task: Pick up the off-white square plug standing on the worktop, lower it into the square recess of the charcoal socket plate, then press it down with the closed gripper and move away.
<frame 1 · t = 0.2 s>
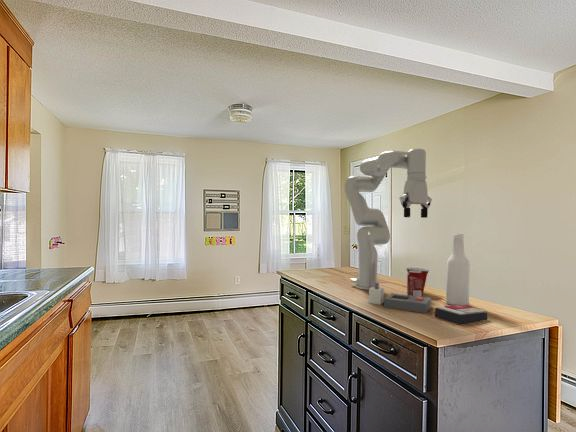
hand: (415, 217, 155), 37 cm above the countertop, tool pointing down, fingers open, 9 cm apart
button control panel: (460, 319, 131), on the countertop
plug: (376, 302, 153), on the countertop
plastic cup: (417, 292, 175), on the countertop
soda can: (414, 297, 165), on the countertop
socket plate: (407, 306, 147), on the countertop
alcohol: (457, 304, 153), on the countertop
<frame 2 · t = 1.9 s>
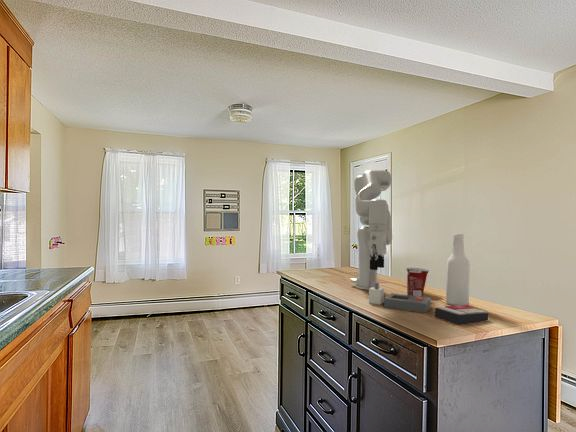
hand: (377, 268, 153), 15 cm above the countertop, tool pointing down, fingers open, 9 cm apart
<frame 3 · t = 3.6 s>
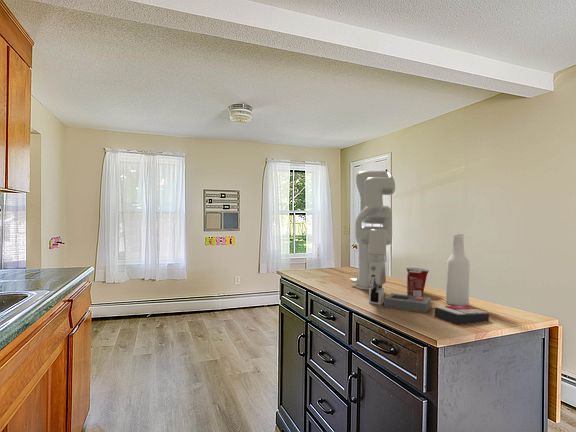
hand: (376, 299, 153), 1 cm above the countertop, tool pointing down, fingers closed on plug, 5 cm apart
plug: (376, 302, 153), on the countertop, touching gripper
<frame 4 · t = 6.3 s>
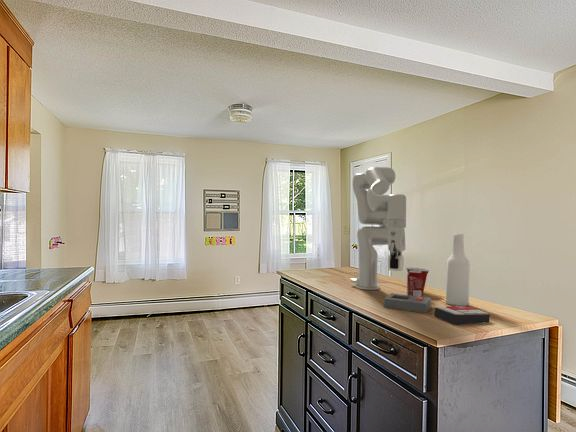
hand: (395, 267, 149), 16 cm above the countertop, tool pointing down, fingers closed on plug, 4 cm apart
plug: (395, 269, 149), point 15 cm above the countertop, touching gripper
when the fingers open (5 cm above the countertop, at t = 8.9 s): plug drops 3 cm, resting on socket plate.
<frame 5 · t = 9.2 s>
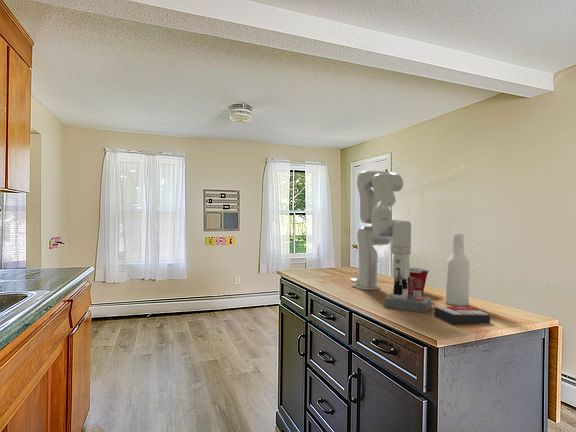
hand: (400, 292, 148), 5 cm above the countertop, tool pointing down, fingers open, 8 cm apart
plug: (400, 304, 148), point 1 cm above the countertop, touching socket plate
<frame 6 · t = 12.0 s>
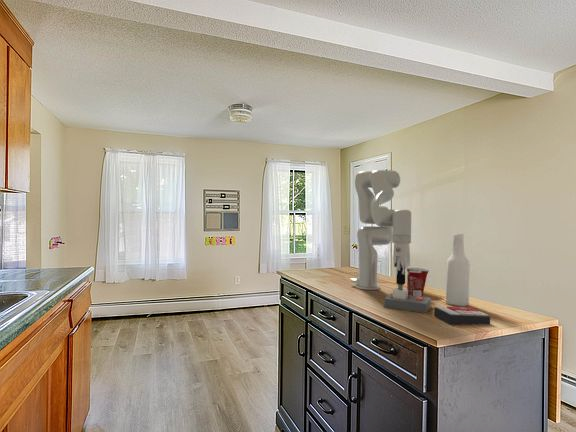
hand: (400, 283, 148), 9 cm above the countertop, tool pointing down, fingers closed
plug: (400, 304, 148), point 1 cm above the countertop, touching gripper, socket plate
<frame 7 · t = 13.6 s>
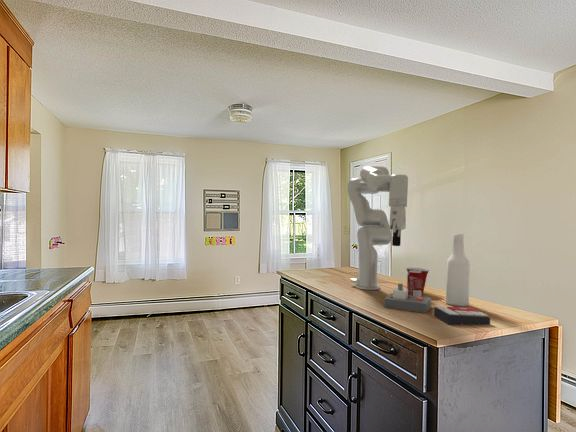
hand: (396, 245, 155), 24 cm above the countertop, tool pointing down, fingers closed
plug: (400, 304, 148), point 1 cm above the countertop, touching socket plate
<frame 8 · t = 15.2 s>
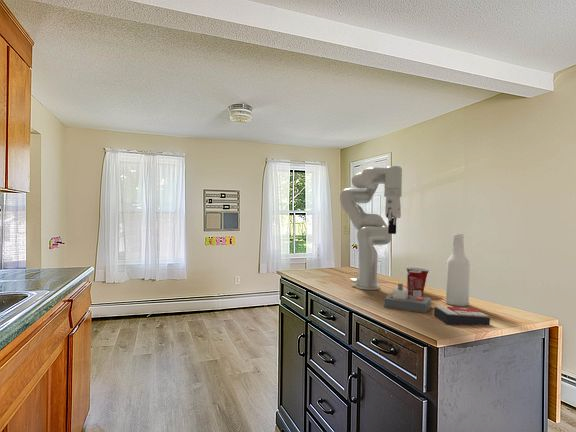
hand: (392, 233, 163), 29 cm above the countertop, tool pointing down, fingers closed
at the end: plug 0.0 cm from the target spot on the socket plate, point 0.6 cm above the socket plate's base; plug tilted 0°; the gripper is holding nothing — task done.
